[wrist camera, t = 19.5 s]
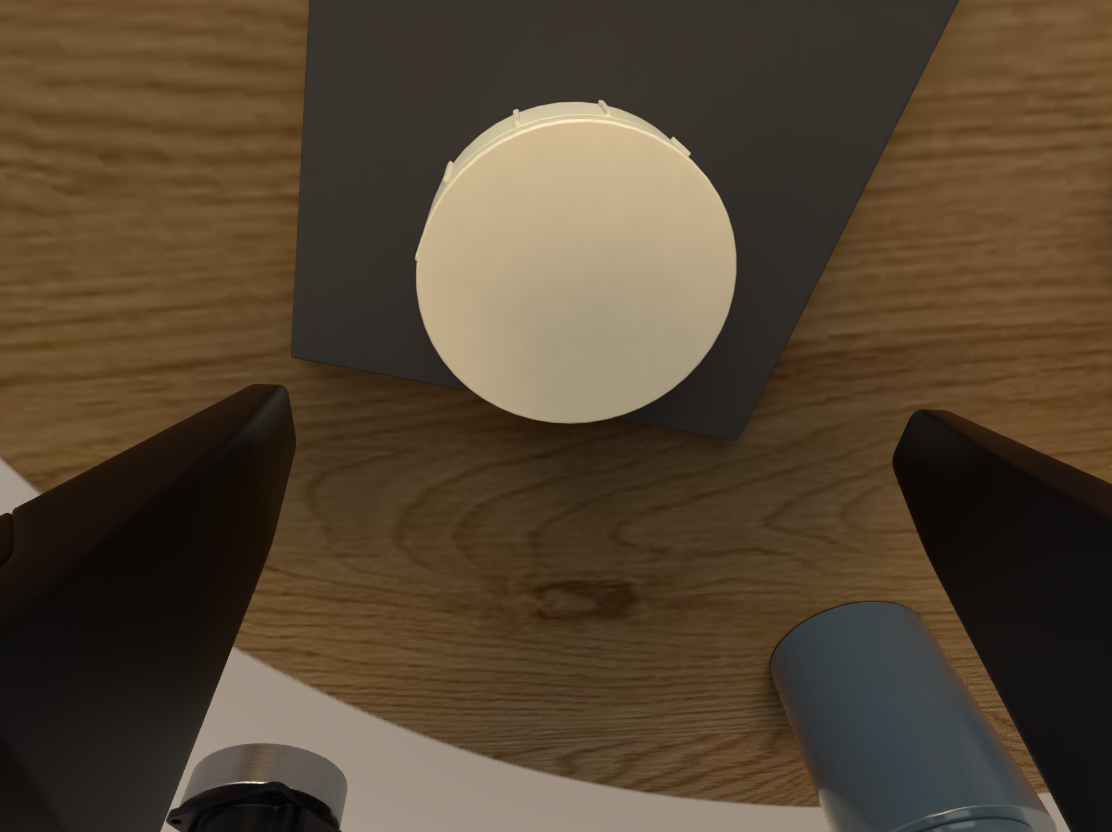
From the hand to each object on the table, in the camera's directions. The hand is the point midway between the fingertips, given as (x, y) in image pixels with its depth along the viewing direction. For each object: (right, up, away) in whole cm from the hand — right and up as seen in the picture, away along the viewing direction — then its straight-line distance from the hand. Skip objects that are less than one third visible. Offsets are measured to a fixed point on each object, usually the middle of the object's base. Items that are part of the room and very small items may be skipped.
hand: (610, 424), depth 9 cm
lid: (0, +3, +4) cm, 5 cm away
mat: (+4, +17, -2) cm, 18 cm away
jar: (+10, -9, +16) cm, 21 cm away
